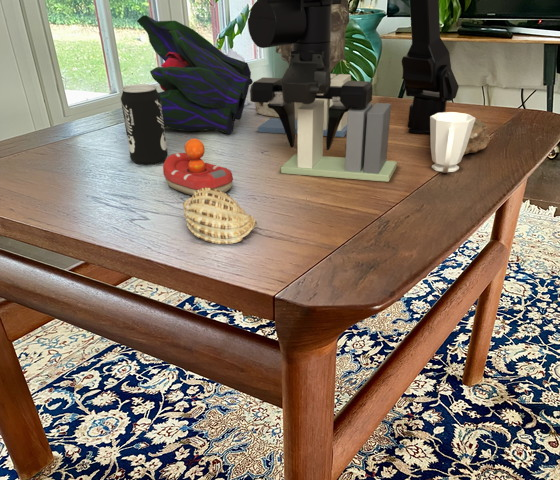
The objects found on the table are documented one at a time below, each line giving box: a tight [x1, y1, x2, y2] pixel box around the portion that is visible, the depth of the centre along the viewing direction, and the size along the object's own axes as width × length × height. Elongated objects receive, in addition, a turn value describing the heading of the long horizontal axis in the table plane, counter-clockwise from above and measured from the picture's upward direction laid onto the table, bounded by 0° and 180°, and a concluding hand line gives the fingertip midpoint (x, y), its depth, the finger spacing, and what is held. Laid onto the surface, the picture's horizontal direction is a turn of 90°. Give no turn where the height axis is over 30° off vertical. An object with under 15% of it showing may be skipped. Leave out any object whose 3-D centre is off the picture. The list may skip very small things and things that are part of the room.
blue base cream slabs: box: [257, 73, 352, 138], centre depth 117 cm, size 18×8×10 cm, turn 72°
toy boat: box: [162, 138, 234, 197], centre depth 89 cm, size 8×12×8 cm, turn 47°
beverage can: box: [120, 83, 169, 166], centre depth 100 cm, size 7×7×12 cm
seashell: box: [182, 188, 258, 245], centre depth 76 cm, size 8×6×10 cm
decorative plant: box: [136, 14, 254, 135], centre depth 118 cm, size 21×26×30 cm
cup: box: [429, 111, 476, 174], centre depth 94 cm, size 7×10×8 cm
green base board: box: [280, 102, 398, 183], centre depth 94 cm, size 18×8×10 cm, turn 72°
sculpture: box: [254, 0, 350, 119], centre depth 124 cm, size 19×17×30 cm
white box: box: [297, 100, 324, 169], centre depth 95 cm, size 2×7×9 cm, turn 162°
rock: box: [464, 117, 491, 155], centre depth 104 cm, size 13×11×5 cm
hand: (310, 148), depth 97 cm, fingers open, 6 cm apart
